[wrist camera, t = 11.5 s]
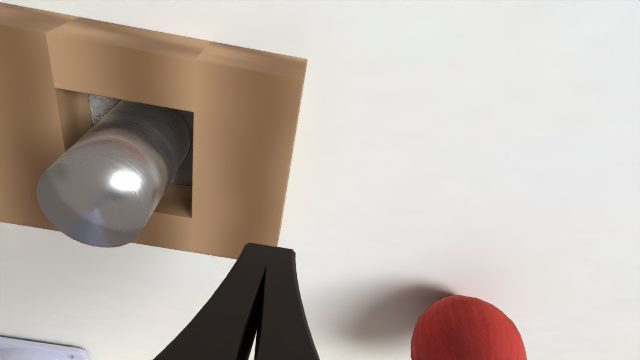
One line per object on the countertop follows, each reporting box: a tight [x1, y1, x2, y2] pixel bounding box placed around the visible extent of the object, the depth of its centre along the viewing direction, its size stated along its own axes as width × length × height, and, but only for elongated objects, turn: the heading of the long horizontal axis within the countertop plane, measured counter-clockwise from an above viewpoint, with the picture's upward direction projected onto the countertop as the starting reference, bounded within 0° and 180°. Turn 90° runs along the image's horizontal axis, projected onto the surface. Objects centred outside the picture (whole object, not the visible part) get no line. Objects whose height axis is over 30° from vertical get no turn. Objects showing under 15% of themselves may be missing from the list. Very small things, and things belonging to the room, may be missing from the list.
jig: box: [0, 3, 307, 259], centre depth 21 cm, size 14×10×2 cm
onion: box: [411, 295, 527, 360], centre depth 24 cm, size 6×6×8 cm
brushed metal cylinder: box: [36, 100, 191, 248], centre depth 19 cm, size 4×4×6 cm
